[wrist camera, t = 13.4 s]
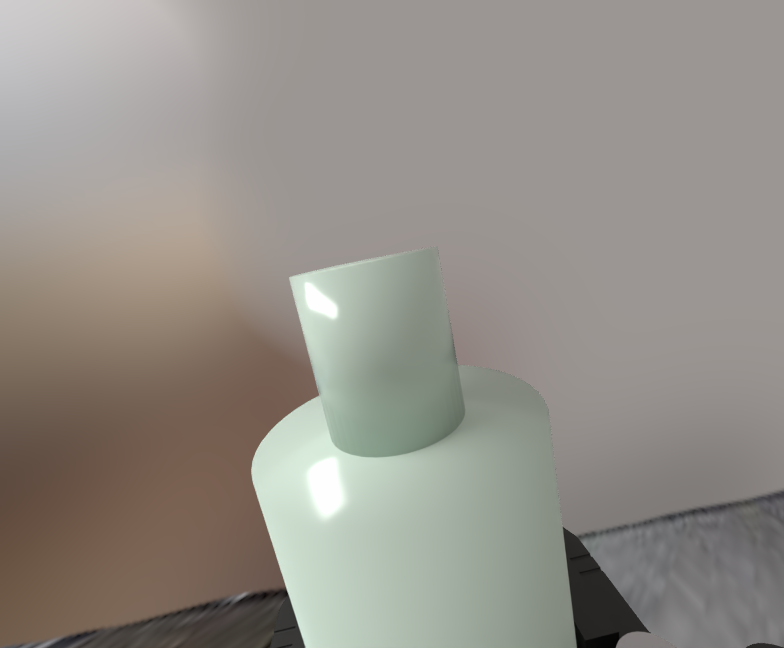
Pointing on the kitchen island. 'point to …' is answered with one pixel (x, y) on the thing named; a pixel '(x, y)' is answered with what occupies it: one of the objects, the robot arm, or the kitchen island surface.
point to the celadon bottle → (411, 477)
